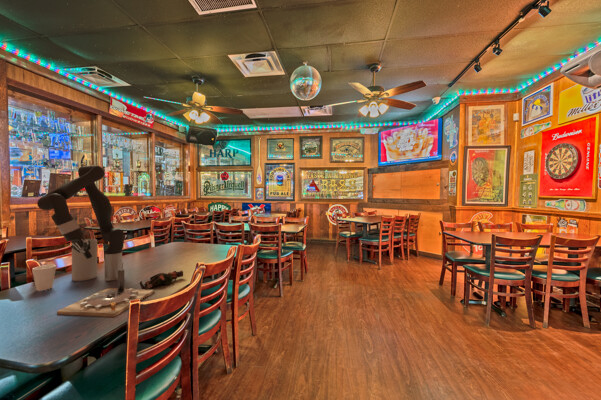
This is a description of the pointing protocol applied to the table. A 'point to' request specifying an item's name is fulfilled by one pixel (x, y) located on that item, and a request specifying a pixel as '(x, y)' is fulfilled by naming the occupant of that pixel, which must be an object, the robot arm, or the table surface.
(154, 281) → the leprechaun
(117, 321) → the table surface
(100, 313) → the base board
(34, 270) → the foam cup
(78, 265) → the cylinder vase
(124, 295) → the sprocket
